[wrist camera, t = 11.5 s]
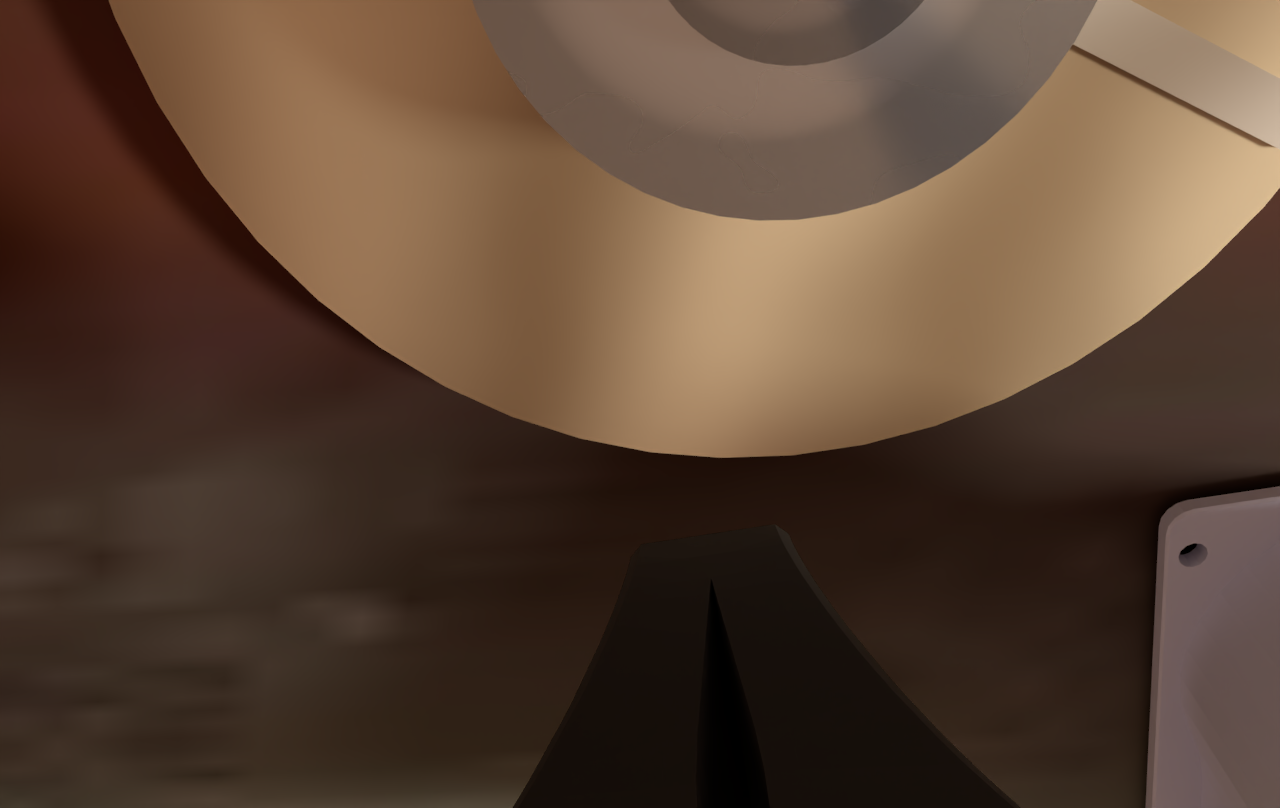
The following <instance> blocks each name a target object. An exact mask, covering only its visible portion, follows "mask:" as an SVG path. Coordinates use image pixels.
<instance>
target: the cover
mask: <svg viewBox="0 0 1280 808" xmlns="http://www.w3.org/2000/svg"><path fill="white" fill-rule="evenodd" d="M472 1H473V4H474V7H475V10H476V13H477V15H478V17H479V19H480V21H481V23H482V25H483V27H484V29H485V31H486V34H487V36H488V38H489V40H490V42H491V44H492V46H493V48H494V50H495V52H496V54H497V56H498V57H499V59H500V60H501V62H502V63H503V65H504V67H505V68H506V70H507V71H508V73H509V74H510V76H511V77H512V79H513V81H514V82H515V84H516V85H517V87H518V88H519V90H520V91H521V92H522V94H523V95H524V96H525V97H526V98H527V100H528V101H529V102H530V103H531V104H532V106H533V107H534V108H535V109H536V110H537V112H538V113H539V114H540V115H541V116H542V118H543V119H544V120H545V121H546V122H547V123H548V124H549V125H550V126H551V127H552V128H553V129H554V130H555V131H556V132H557V133H558V134H560V135H561V136H562V137H563V138H564V139H565V140H566V141H567V142H568V143H569V144H570V145H571V146H572V147H573V148H575V149H576V150H577V151H578V152H579V153H581V154H582V155H584V156H585V157H586V158H588V159H589V160H591V161H592V162H593V163H595V164H596V165H598V166H599V167H600V168H602V169H603V170H604V171H606V172H607V173H609V174H610V175H612V176H614V177H616V178H618V179H619V180H621V181H623V182H625V183H627V184H629V185H631V186H632V187H634V188H636V189H638V190H640V191H642V192H644V193H646V194H648V195H651V196H654V197H656V198H659V199H661V200H664V201H667V202H669V203H672V204H674V205H677V206H680V207H683V208H687V209H691V210H695V211H699V212H704V213H708V214H712V215H716V216H721V217H730V218H739V219H749V220H758V221H762V220H800V219H807V218H814V217H821V216H827V215H834V214H839V213H843V212H847V211H850V210H854V209H858V208H861V207H865V206H869V205H872V204H876V203H878V202H881V201H883V200H886V199H888V198H891V197H893V196H896V195H898V194H900V193H903V192H905V191H908V190H910V189H913V188H915V187H917V186H918V185H920V184H922V183H924V182H926V181H928V180H929V179H931V178H933V177H935V176H937V175H938V174H940V173H942V172H944V171H946V170H947V169H949V168H951V167H952V166H954V165H955V164H957V163H958V162H959V161H961V160H962V159H964V158H965V157H966V156H968V155H969V154H971V153H972V152H973V151H975V150H976V149H977V148H979V147H980V146H982V145H983V144H984V143H986V142H987V141H988V140H989V139H990V138H991V137H992V136H994V135H995V134H996V133H997V132H998V131H999V130H1000V129H1001V128H1002V127H1004V126H1005V125H1006V124H1007V123H1008V122H1009V121H1010V120H1011V119H1012V118H1014V117H1015V116H1016V115H1017V114H1018V113H1019V112H1020V111H1021V110H1022V108H1023V107H1024V106H1025V105H1026V104H1027V103H1028V102H1029V101H1030V99H1031V98H1032V97H1033V96H1034V95H1035V94H1036V93H1037V91H1038V90H1039V89H1040V88H1041V87H1042V86H1043V85H1044V84H1045V82H1046V81H1047V80H1048V79H1049V78H1050V76H1051V75H1052V73H1053V72H1054V70H1055V69H1056V68H1057V66H1058V65H1059V63H1060V62H1061V60H1062V59H1063V58H1064V56H1065V55H1066V53H1067V52H1068V51H1069V49H1070V48H1071V46H1072V45H1073V43H1074V42H1075V40H1076V39H1077V37H1078V35H1079V33H1080V31H1081V29H1082V28H1083V26H1084V24H1085V22H1086V20H1087V19H1088V17H1089V15H1090V13H1091V11H1092V9H1093V8H1094V6H1095V4H1096V2H1097V0H472Z"/></svg>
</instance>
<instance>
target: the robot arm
mask: <svg viewBox="0 0 1280 808" xmlns="http://www.w3.org/2000/svg"><path fill="white" fill-rule="evenodd" d="M1194 543H1196V544H1197V546H1196V547H1195V548H1194V549H1193V550H1192V551H1191V552H1189V553H1186V554H1184V555H1180V552H1181V550H1183V549H1184V548H1185V547H1186V546H1188V545H1191V544H1194ZM513 808H1020V807H1019V806H1018V805H1017V804H1016V803H1015V802H1014V801H1012V800H1011V799H1010V798H1009V797H1008V796H1007V795H1006V794H1005V793H1003V792H1002V791H1001V790H1000V789H999V788H998V787H997V786H996V785H995V784H993V783H992V782H991V781H990V780H989V779H988V778H987V777H986V776H985V775H984V774H983V773H981V772H980V771H979V770H978V769H977V768H976V767H975V766H974V765H973V764H972V763H971V762H970V761H969V760H968V759H967V758H966V757H965V756H964V755H963V754H962V753H961V752H960V751H959V750H958V749H957V748H956V747H955V746H954V745H953V744H952V743H951V742H950V741H949V740H948V739H947V738H945V737H944V736H943V734H942V733H941V732H940V731H939V730H938V729H937V728H936V727H935V726H934V725H933V724H932V723H931V722H930V721H929V720H928V719H927V718H926V717H925V716H924V714H923V713H922V712H921V711H920V710H919V709H918V708H917V707H916V706H915V705H914V704H913V703H912V702H911V701H910V700H909V699H908V698H907V696H906V695H905V694H904V693H903V692H902V691H901V690H900V689H899V687H898V686H897V685H896V684H895V683H894V682H893V681H892V680H891V678H890V677H889V676H888V675H887V674H886V673H885V672H884V670H883V669H882V668H881V667H880V666H879V664H878V663H877V662H876V661H875V659H874V658H873V657H872V656H871V655H870V653H869V652H868V651H867V650H866V649H865V647H864V646H863V645H862V644H861V642H860V641H859V640H858V639H857V638H856V636H855V635H854V634H853V633H852V632H851V630H850V629H849V628H848V627H847V625H846V624H845V623H844V621H843V620H842V619H841V617H840V616H839V615H838V613H837V612H836V611H835V609H834V608H833V607H832V605H831V604H830V602H829V601H828V599H827V598H826V597H825V595H824V594H823V592H822V591H821V590H820V588H819V587H818V585H817V584H816V582H815V581H814V579H813V578H812V576H811V575H810V573H809V571H808V570H807V568H806V567H805V565H804V563H803V562H802V560H801V558H800V556H799V555H798V553H797V551H796V549H795V547H794V545H793V543H792V541H791V539H790V536H789V534H788V533H787V532H785V531H784V530H782V529H781V528H779V527H778V526H777V525H775V524H774V525H767V526H760V527H754V528H747V529H740V530H734V531H727V532H721V533H714V534H707V535H701V536H694V537H687V538H681V539H674V540H667V541H661V542H654V543H647V544H641V546H640V547H639V548H638V549H637V550H636V552H635V553H634V554H633V555H632V556H631V559H630V563H629V567H628V570H627V574H626V577H625V580H624V583H623V586H622V589H621V591H620V594H619V597H618V600H617V602H616V605H615V607H614V610H613V613H612V615H611V618H610V620H609V622H608V625H607V627H606V630H605V632H604V634H603V637H602V639H601V642H600V644H599V646H598V648H597V650H596V653H595V655H594V657H593V659H592V661H591V663H590V665H589V667H588V670H587V672H586V674H585V676H584V678H583V680H582V682H581V684H580V687H579V689H578V691H577V693H576V695H575V697H574V699H573V701H572V703H571V705H570V707H569V709H568V711H567V713H566V715H565V717H564V719H563V721H562V722H561V724H560V726H559V728H558V730H557V731H556V733H555V735H554V737H553V739H552V740H551V742H550V744H549V746H548V748H547V749H546V751H545V753H544V755H543V757H542V758H541V760H540V762H539V764H538V766H537V767H536V769H535V771H534V773H533V775H532V776H531V778H530V780H529V782H528V783H527V785H526V787H525V788H524V790H523V792H522V793H521V795H520V797H519V798H518V800H517V801H516V803H515V805H514V806H513ZM1145 808H1280V486H1278V487H1272V488H1265V489H1258V490H1251V491H1245V492H1238V493H1231V494H1224V495H1218V496H1211V497H1204V498H1197V499H1190V500H1186V501H1182V502H1179V503H1176V504H1175V505H1173V506H1172V507H1171V508H1169V509H1168V510H1167V511H1166V512H1165V513H1164V515H1163V516H1162V517H1161V520H1160V524H1159V532H1158V554H1157V575H1156V596H1155V617H1154V638H1153V659H1152V680H1151V701H1150V723H1149V744H1148V765H1147V786H1146V807H1145Z"/></svg>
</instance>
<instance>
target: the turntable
mask: <svg viewBox="0 0 1280 808" xmlns="http://www.w3.org/2000/svg"><path fill="white" fill-rule="evenodd" d="M109 3H110V6H111V8H112V11H113V14H114V17H115V19H116V21H117V23H118V25H119V27H120V29H121V31H122V33H123V35H124V37H125V39H126V41H127V43H128V45H129V47H130V49H131V51H132V53H133V55H134V57H135V59H136V61H137V63H138V66H139V68H140V70H141V72H142V74H143V76H144V78H145V80H146V82H147V84H148V86H149V88H150V90H151V92H152V94H153V96H154V98H155V100H156V102H157V103H158V105H159V107H160V108H161V110H162V111H163V113H164V114H165V116H166V117H167V119H168V120H169V122H170V124H171V125H172V127H173V128H174V130H175V131H176V133H177V134H178V136H179V137H180V139H181V141H182V142H183V144H184V145H185V147H186V148H187V150H188V151H189V153H190V155H191V156H192V158H193V159H194V161H195V162H196V164H197V165H198V167H199V168H200V170H201V172H202V173H203V175H204V176H205V178H206V179H207V180H208V181H209V182H210V184H211V185H212V186H213V187H214V189H215V190H216V191H217V192H218V193H219V195H220V196H221V197H222V198H223V200H224V201H225V202H226V203H227V204H228V206H229V207H230V208H231V209H232V211H233V212H234V213H235V214H236V215H237V217H238V218H239V219H240V220H241V222H242V223H243V224H244V225H245V226H246V228H247V229H248V230H249V231H250V233H251V234H252V235H253V236H254V237H255V239H256V240H257V241H258V242H259V243H260V244H261V245H262V246H263V247H264V248H265V249H266V250H267V251H268V252H269V253H270V254H271V255H272V256H273V257H274V258H275V259H276V260H277V261H278V262H279V263H280V264H281V265H282V266H283V267H284V268H285V269H286V270H287V271H288V272H290V273H291V274H292V275H293V276H294V277H295V278H296V279H297V280H298V281H299V282H300V283H301V284H302V285H303V286H304V287H305V288H306V289H307V290H308V291H309V292H310V293H311V294H312V295H313V296H314V297H315V298H316V299H317V300H319V301H320V302H321V303H323V304H324V305H325V306H326V307H328V308H329V309H330V310H332V311H333V312H334V313H336V314H337V315H338V316H339V317H341V318H342V319H343V320H345V321H346V322H347V323H349V324H350V325H351V326H352V327H354V328H355V329H356V330H358V331H359V332H360V333H362V334H363V335H364V336H365V337H367V338H368V339H369V340H371V341H372V342H373V343H375V344H376V345H377V346H378V347H380V348H382V349H383V350H385V351H387V352H388V353H390V354H392V355H393V356H395V357H396V358H398V359H400V360H401V361H403V362H405V363H406V364H408V365H410V366H411V367H413V368H415V369H416V370H418V371H420V372H421V373H423V374H425V375H426V376H428V377H430V378H431V379H433V380H435V381H436V382H438V383H440V384H441V385H443V386H445V387H447V388H449V389H452V390H454V391H456V392H458V393H460V394H463V395H465V396H467V397H469V398H472V399H474V400H476V401H478V402H480V403H483V404H485V405H487V406H489V407H491V408H494V409H496V410H498V411H500V412H502V413H505V414H507V415H509V416H511V417H514V418H518V419H521V420H524V421H527V422H530V423H533V424H536V425H539V426H543V427H546V428H549V429H552V430H555V431H558V432H561V433H564V434H568V435H571V436H574V437H577V438H580V439H585V440H590V441H595V442H600V443H606V444H611V445H616V446H621V447H626V448H631V449H636V450H641V451H646V452H653V453H666V454H678V455H691V456H704V457H716V458H732V457H761V456H789V455H798V454H805V453H812V452H819V451H825V450H832V449H839V448H845V447H852V446H859V445H865V444H869V443H872V442H876V441H880V440H884V439H887V438H891V437H895V436H899V435H903V434H906V433H910V432H914V431H918V430H921V429H925V428H929V427H933V426H936V425H939V424H941V423H944V422H946V421H949V420H952V419H954V418H957V417H959V416H962V415H964V414H967V413H970V412H972V411H975V410H977V409H980V408H983V407H985V406H988V405H990V404H993V403H996V402H998V401H1001V400H1003V399H1006V398H1008V397H1009V396H1011V395H1013V394H1015V393H1017V392H1019V391H1021V390H1023V389H1025V388H1027V387H1029V386H1031V385H1033V384H1035V383H1037V382H1039V381H1041V380H1042V379H1044V378H1046V377H1048V376H1050V375H1052V374H1054V373H1056V372H1058V371H1060V370H1062V369H1064V368H1066V367H1068V366H1070V365H1072V364H1073V363H1075V362H1077V361H1078V360H1080V359H1081V358H1083V357H1084V356H1086V355H1087V354H1089V353H1090V352H1092V351H1093V350H1095V349H1096V348H1098V347H1099V346H1101V345H1102V344H1104V343H1105V342H1107V341H1108V340H1110V339H1111V338H1113V337H1115V336H1116V335H1118V334H1119V333H1121V332H1122V331H1124V330H1125V329H1127V328H1128V327H1130V326H1131V325H1133V324H1134V323H1136V322H1137V321H1139V320H1140V319H1141V318H1143V317H1144V316H1145V315H1146V314H1148V313H1149V312H1150V311H1151V310H1152V309H1154V308H1155V307H1156V306H1157V305H1159V304H1160V303H1161V302H1162V301H1163V300H1165V299H1166V298H1167V297H1168V296H1170V295H1171V294H1172V293H1173V292H1174V291H1176V290H1177V289H1178V288H1179V287H1181V286H1182V285H1183V284H1184V283H1185V282H1187V281H1188V280H1189V279H1190V278H1192V277H1193V276H1194V275H1195V274H1196V273H1198V272H1199V271H1200V270H1201V269H1203V268H1204V267H1205V266H1206V265H1207V264H1208V263H1209V262H1210V261H1211V260H1212V259H1213V258H1214V257H1215V256H1216V255H1217V254H1218V253H1219V252H1220V251H1221V250H1222V249H1223V248H1224V247H1225V246H1226V245H1227V244H1228V243H1229V242H1230V241H1231V240H1232V239H1233V238H1234V237H1235V236H1236V235H1237V234H1238V233H1239V232H1240V231H1241V230H1242V228H1243V227H1244V226H1245V225H1246V224H1247V223H1248V222H1249V221H1250V220H1251V219H1252V218H1253V217H1254V216H1255V215H1256V214H1257V213H1258V212H1259V211H1260V210H1261V209H1262V208H1263V207H1264V206H1265V205H1266V204H1267V203H1268V201H1269V200H1270V199H1271V198H1272V196H1273V195H1274V194H1275V193H1276V191H1277V190H1278V189H1279V188H1280V0H1097V2H1096V4H1095V6H1094V8H1093V9H1092V11H1091V13H1090V15H1089V17H1088V19H1087V20H1086V22H1085V24H1084V26H1083V28H1082V29H1081V31H1080V33H1079V35H1078V37H1077V39H1076V40H1075V42H1074V43H1073V45H1072V46H1071V48H1070V49H1069V51H1068V52H1067V53H1066V55H1065V56H1064V58H1063V59H1062V60H1061V62H1060V63H1059V65H1058V66H1057V68H1056V69H1055V70H1054V72H1053V73H1052V75H1051V76H1050V78H1049V79H1048V80H1047V81H1046V82H1045V84H1044V85H1043V86H1042V87H1041V88H1040V89H1039V90H1038V91H1037V93H1036V94H1035V95H1034V96H1033V97H1032V98H1031V99H1030V101H1029V102H1028V103H1027V104H1026V105H1025V106H1024V107H1023V108H1022V110H1021V111H1020V112H1019V113H1018V114H1017V115H1016V116H1015V117H1014V118H1012V119H1011V120H1010V121H1009V122H1008V123H1007V124H1006V125H1005V126H1004V127H1002V128H1001V129H1000V130H999V131H998V132H997V133H996V134H995V135H994V136H992V137H991V138H990V139H989V140H988V141H987V142H986V143H984V144H983V145H982V146H980V147H979V148H977V149H976V150H975V151H973V152H972V153H971V154H969V155H968V156H966V157H965V158H964V159H962V160H961V161H959V162H958V163H957V164H955V165H954V166H952V167H951V168H949V169H947V170H946V171H944V172H942V173H940V174H938V175H937V176H935V177H933V178H931V179H929V180H928V181H926V182H924V183H922V184H920V185H918V186H917V187H915V188H913V189H910V190H908V191H905V192H903V193H900V194H898V195H896V196H893V197H891V198H888V199H886V200H883V201H881V202H878V203H876V204H872V205H869V206H865V207H861V208H858V209H854V210H850V211H847V212H843V213H839V214H834V215H827V216H821V217H814V218H807V219H800V220H762V221H758V220H749V219H739V218H730V217H721V216H716V215H712V214H708V213H704V212H699V211H695V210H691V209H687V208H683V207H680V206H677V205H674V204H672V203H669V202H667V201H664V200H661V199H659V198H656V197H654V196H651V195H648V194H646V193H644V192H642V191H640V190H638V189H636V188H634V187H632V186H631V185H629V184H627V183H625V182H623V181H621V180H619V179H618V178H616V177H614V176H612V175H610V174H609V173H607V172H606V171H604V170H603V169H602V168H600V167H599V166H598V165H596V164H595V163H593V162H592V161H591V160H589V159H588V158H586V157H585V156H584V155H582V154H581V153H579V152H578V151H577V150H576V149H575V148H573V147H572V146H571V145H570V144H569V143H568V142H567V141H566V140H565V139H564V138H563V137H562V136H561V135H560V134H558V133H557V132H556V131H555V130H554V129H553V128H552V127H551V126H550V125H549V124H548V123H547V122H546V121H545V120H544V119H543V118H542V116H541V115H540V114H539V113H538V112H537V110H536V109H535V108H534V107H533V106H532V104H531V103H530V102H529V101H528V100H527V98H526V97H525V96H524V95H523V94H522V92H521V91H520V90H519V88H518V87H517V85H516V84H515V82H514V81H513V79H512V77H511V76H510V74H509V73H508V71H507V70H506V68H505V67H504V65H503V63H502V62H501V60H500V59H499V57H498V56H497V54H496V52H495V50H494V48H493V46H492V44H491V42H490V40H489V38H488V36H487V34H486V31H485V29H484V27H483V25H482V23H481V21H480V19H479V17H478V15H477V13H476V10H475V7H474V4H473V1H472V0H109Z"/></svg>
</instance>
